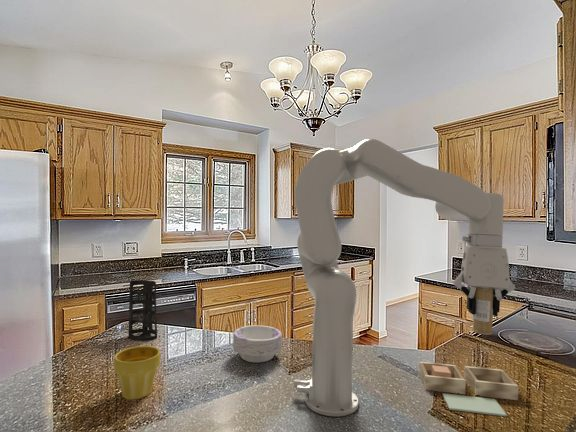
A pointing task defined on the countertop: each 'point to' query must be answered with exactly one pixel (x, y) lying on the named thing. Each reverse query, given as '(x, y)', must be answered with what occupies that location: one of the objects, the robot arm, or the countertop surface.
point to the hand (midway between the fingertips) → (482, 313)
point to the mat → (473, 404)
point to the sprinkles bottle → (483, 311)
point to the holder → (143, 310)
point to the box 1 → (442, 379)
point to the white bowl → (257, 342)
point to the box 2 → (491, 383)
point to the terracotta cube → (440, 371)
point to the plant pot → (136, 370)
